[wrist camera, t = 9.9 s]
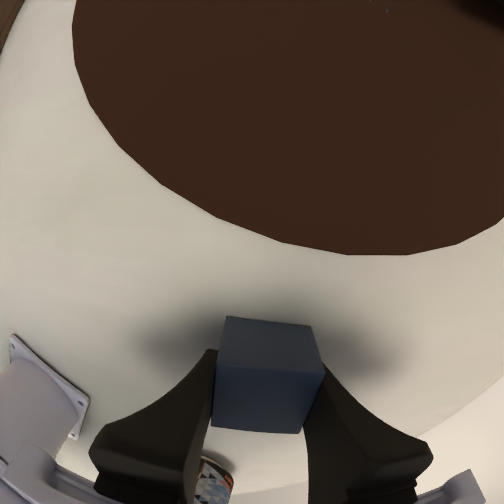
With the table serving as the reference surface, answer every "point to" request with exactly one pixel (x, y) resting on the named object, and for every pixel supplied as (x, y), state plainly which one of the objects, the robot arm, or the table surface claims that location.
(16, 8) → the cabinet
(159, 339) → the table surface
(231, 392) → the dark blue block
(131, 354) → the table surface
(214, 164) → the plate
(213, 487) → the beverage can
